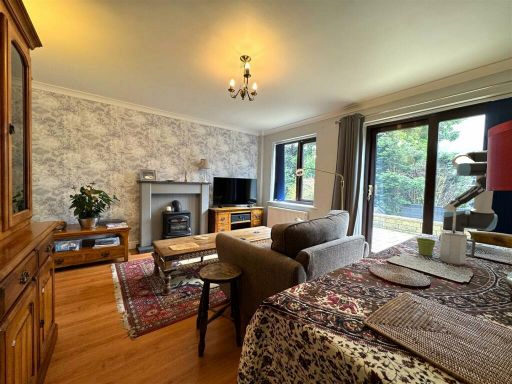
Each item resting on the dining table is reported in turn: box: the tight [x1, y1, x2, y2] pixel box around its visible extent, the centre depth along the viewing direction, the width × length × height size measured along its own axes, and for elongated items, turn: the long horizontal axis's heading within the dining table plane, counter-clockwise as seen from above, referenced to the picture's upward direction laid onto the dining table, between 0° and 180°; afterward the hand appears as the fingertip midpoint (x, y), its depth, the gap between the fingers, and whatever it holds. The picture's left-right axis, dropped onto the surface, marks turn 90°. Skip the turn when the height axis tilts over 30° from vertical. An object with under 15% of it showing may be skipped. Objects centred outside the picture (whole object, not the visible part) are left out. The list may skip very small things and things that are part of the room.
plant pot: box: [415, 237, 437, 257], centre depth 129 cm, size 9×9×9 cm
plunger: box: [449, 199, 458, 233], centre depth 117 cm, size 7×7×21 cm
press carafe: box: [438, 229, 476, 266], centre depth 117 cm, size 11×14×16 cm
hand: (446, 209), depth 119 cm, fingers open, 7 cm apart
